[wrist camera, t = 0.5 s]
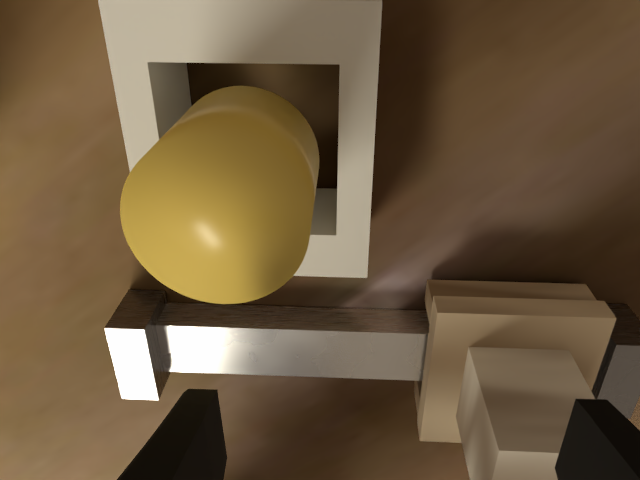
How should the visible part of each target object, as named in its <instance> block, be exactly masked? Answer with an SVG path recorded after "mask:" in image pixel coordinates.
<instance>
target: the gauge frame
mask: <svg viewBox="0 0 640 480" xmlns="http://www.w3.org/2000/svg"><path fill="white" fill-rule="evenodd" d="M98 3H99V8H100V13H101V19H102V24H103V29H104V35H105V40H106V46H107V51H108V56H109V62H110V67H111V73H112V78H113V83H114V89H115V94H116V99H117V105H118V110H119V116H120V121H121V126H122V132H123V137H124V142H125V148H126V153H127V159H128V164H129V169H130V172H131V170H132V169H133V168H134V166H135V165H136V164H137V162H138V161H139V160H140V159H141V158H142V157H143V156H144V155H145V154H146V153H147V152H148V151H149V150H150V149H151V148H152V147H153V146H154V145H155V144H156V143H157V142H158V141H159V139H160V138H161V137H162V136H163V135H164V134H165V133H166V132H167V131H168V130H169V129H170V128H171V127H172V126H173V125H174V124H175V123H176V122H177V121H178V120H179V119H180V118H181V117H182V116H183V115H184V114H185V113H186V112H187V111H188V110H189V108H190V107H191V106H192V105H191V96H190V88H189V79H188V71H187V63H260V64H340V73H339V124H338V174H337V189H329V188H316V194H315V201H314V209H313V216H312V224H311V231H310V239H309V244H308V248H307V252H306V254H305V257H304V260H303V262H302V263H301V265H300V267H299V269H298V270H297V271H296V273H295V274H294V275H293V276H317V277H352V278H367V272H368V253H369V235H370V217H371V199H372V181H373V162H374V144H375V126H376V108H377V90H378V71H379V53H380V35H381V17H382V0H98Z"/></svg>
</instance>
